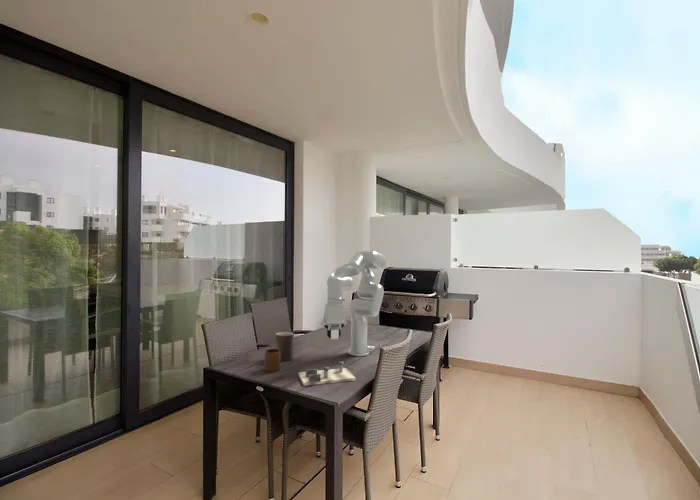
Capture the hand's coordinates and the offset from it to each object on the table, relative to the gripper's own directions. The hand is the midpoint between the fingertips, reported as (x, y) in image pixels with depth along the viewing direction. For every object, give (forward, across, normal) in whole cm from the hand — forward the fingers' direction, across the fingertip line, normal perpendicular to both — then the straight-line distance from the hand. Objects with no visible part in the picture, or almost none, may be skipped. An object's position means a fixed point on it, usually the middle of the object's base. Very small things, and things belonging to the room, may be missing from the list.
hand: (333, 337), depth 174 cm
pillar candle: (+16, +22, -20) cm, 33 cm away
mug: (+16, +29, -6) cm, 33 cm away
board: (+15, +7, +13) cm, 21 cm away
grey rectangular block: (+1, 0, 0) cm, 1 cm away
